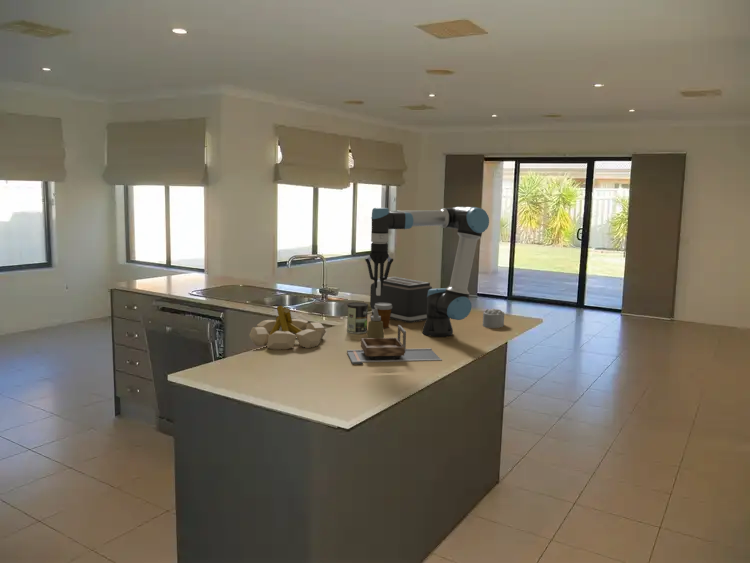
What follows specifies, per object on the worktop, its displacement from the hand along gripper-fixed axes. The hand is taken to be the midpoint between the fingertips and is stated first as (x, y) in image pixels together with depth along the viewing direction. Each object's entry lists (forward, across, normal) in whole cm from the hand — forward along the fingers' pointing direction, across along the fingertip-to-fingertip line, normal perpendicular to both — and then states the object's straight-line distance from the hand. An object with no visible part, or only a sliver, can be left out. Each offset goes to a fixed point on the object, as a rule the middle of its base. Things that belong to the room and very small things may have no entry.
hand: (378, 295), depth 280 cm
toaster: (+25, +26, +68) cm, 77 cm away
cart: (+23, -1, -17) cm, 29 cm away
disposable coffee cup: (+25, +11, +42) cm, 50 cm away
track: (+24, +4, -17) cm, 30 cm away
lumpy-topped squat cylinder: (+25, +71, +40) cm, 85 cm away
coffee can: (+25, -4, +32) cm, 41 cm away
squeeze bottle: (+25, -1, +1) cm, 25 cm away
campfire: (+25, -39, +16) cm, 49 cm away
